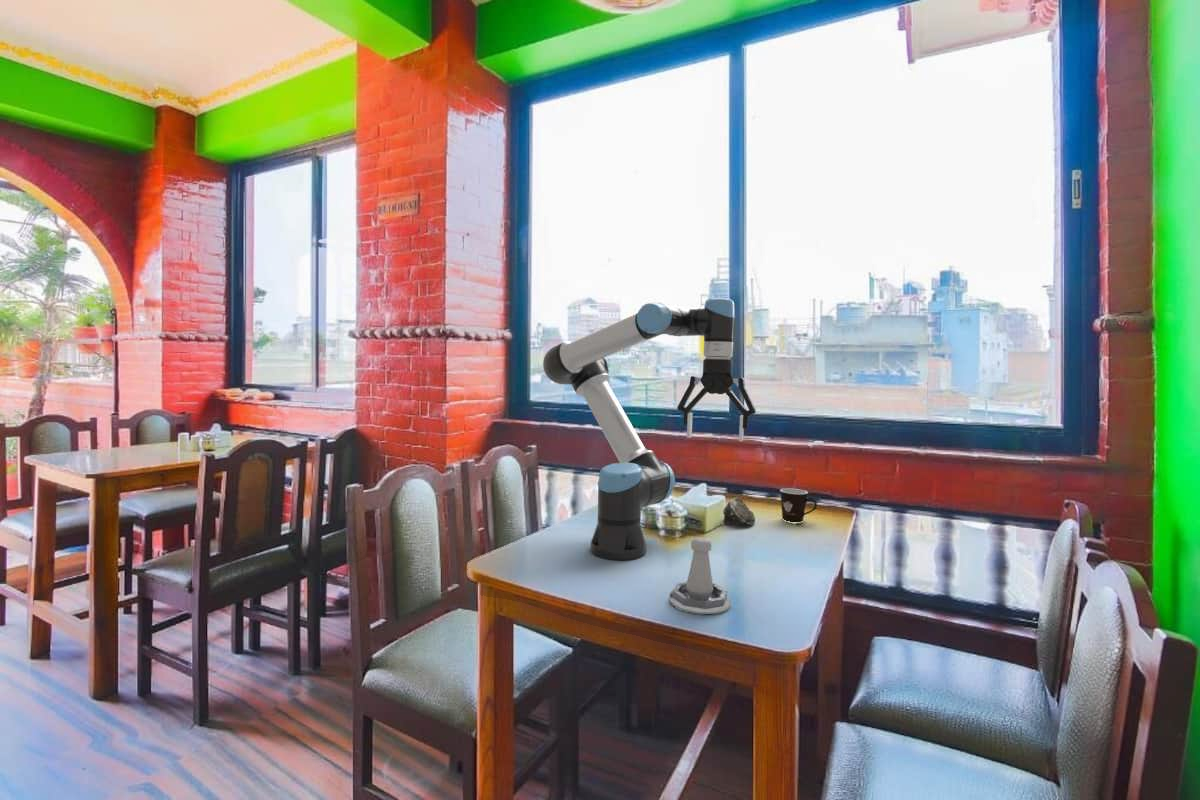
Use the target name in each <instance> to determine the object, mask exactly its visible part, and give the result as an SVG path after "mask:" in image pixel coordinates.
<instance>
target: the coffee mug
mask: <svg viewBox="0 0 1200 800" xmlns="http://www.w3.org/2000/svg"><path fill="white" fill-rule="evenodd" d="M779 492H780V502H781V517H782V518H783V519H784V520H786V521H790V522H801V521H803V522H804V517H805V515H808V514H810V513H812V512H813V511H815V510H816V509H817V506H818V505H817V504H818V503H817V501H816V500H815V499H814V498H811V497H809V498H808V494H809V492H808V491H807V490H804V489H799V488H792V487H791V488H781V489H780V490H779ZM808 501H812V502H813V504H814V507H813V508H812V509H810V510H809V511H805V510H806V505H807V502H808ZM783 519H782V520H783Z"/></svg>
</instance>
